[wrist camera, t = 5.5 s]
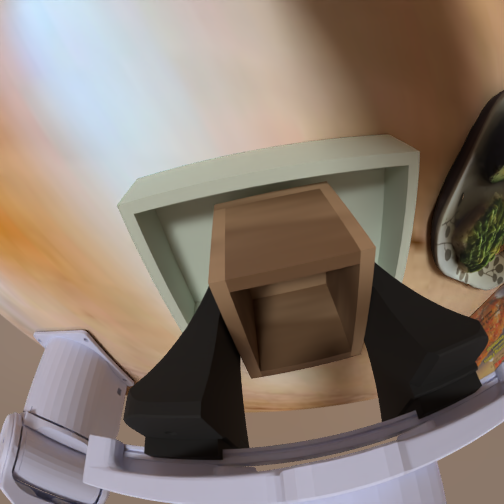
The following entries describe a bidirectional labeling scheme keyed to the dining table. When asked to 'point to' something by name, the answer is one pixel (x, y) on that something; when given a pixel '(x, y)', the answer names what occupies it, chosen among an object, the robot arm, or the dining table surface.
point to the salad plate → (474, 206)
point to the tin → (491, 332)
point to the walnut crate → (291, 278)
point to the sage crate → (259, 182)
